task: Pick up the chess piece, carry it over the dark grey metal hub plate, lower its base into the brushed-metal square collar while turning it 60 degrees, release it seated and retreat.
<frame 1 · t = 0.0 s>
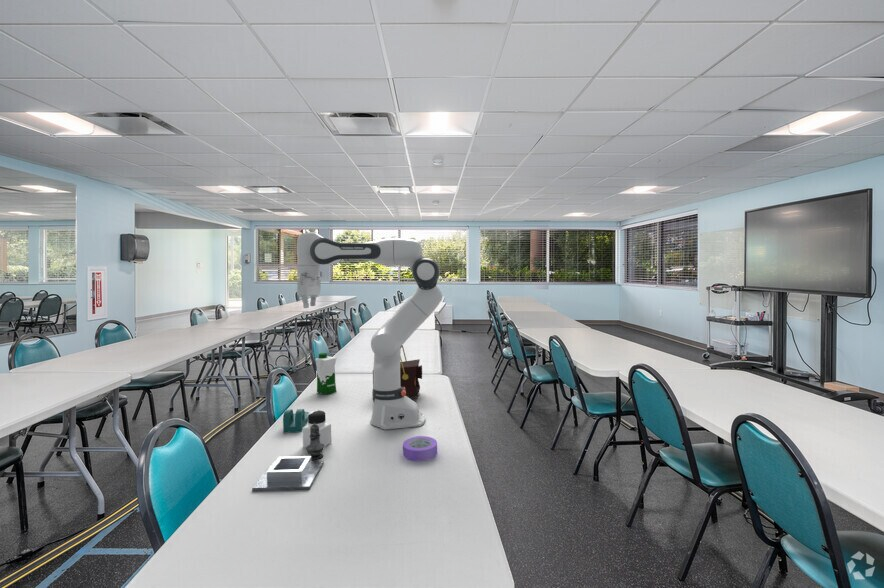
hand: (309, 307, 167), 48 cm above the table, fingers open, 8 cm apart
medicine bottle: (317, 445, 147), on the table
masking tape: (420, 454, 139), on the table
milk carton: (326, 392, 214), on the table
dark brown boxy piece: (398, 397, 204), on the table
bracket: (298, 424, 169), on the table
hub plate: (290, 476, 124), on the table
chess piece: (315, 457, 137), on the table
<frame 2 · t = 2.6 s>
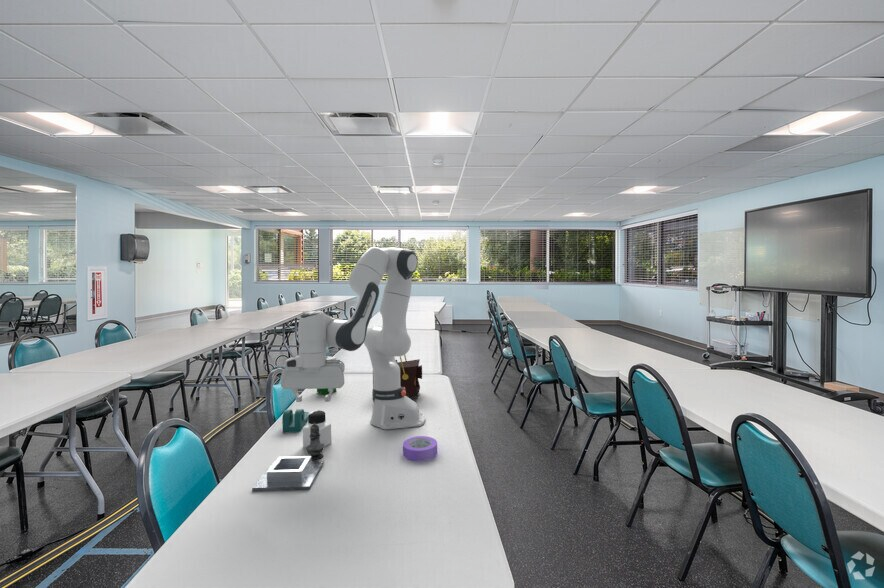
hand: (313, 401, 136), 19 cm above the table, fingers open, 8 cm apart
nothing on the table moved.
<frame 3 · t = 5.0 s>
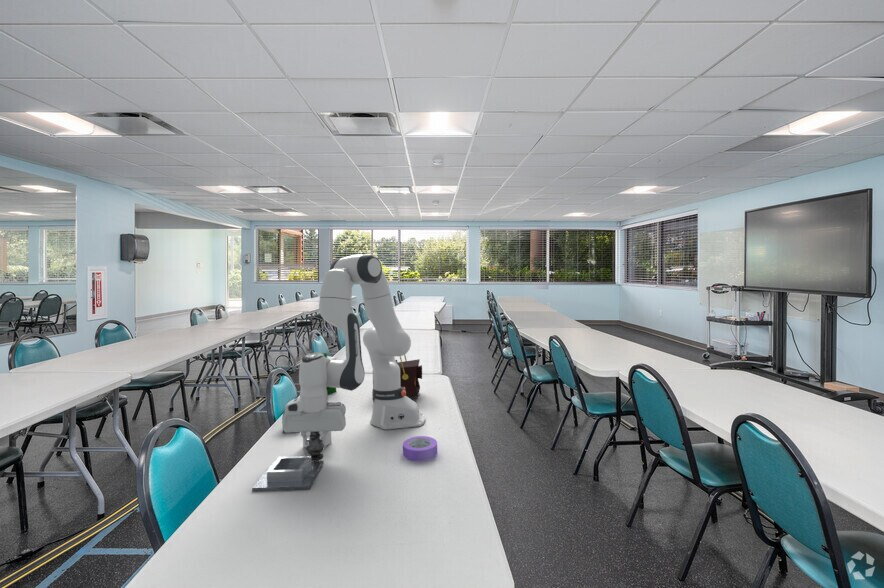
hand: (315, 443, 137), 5 cm above the table, fingers closed on chess piece, 3 cm apart
chess piece: (315, 457, 137), on the table, touching gripper
everything else where it was.
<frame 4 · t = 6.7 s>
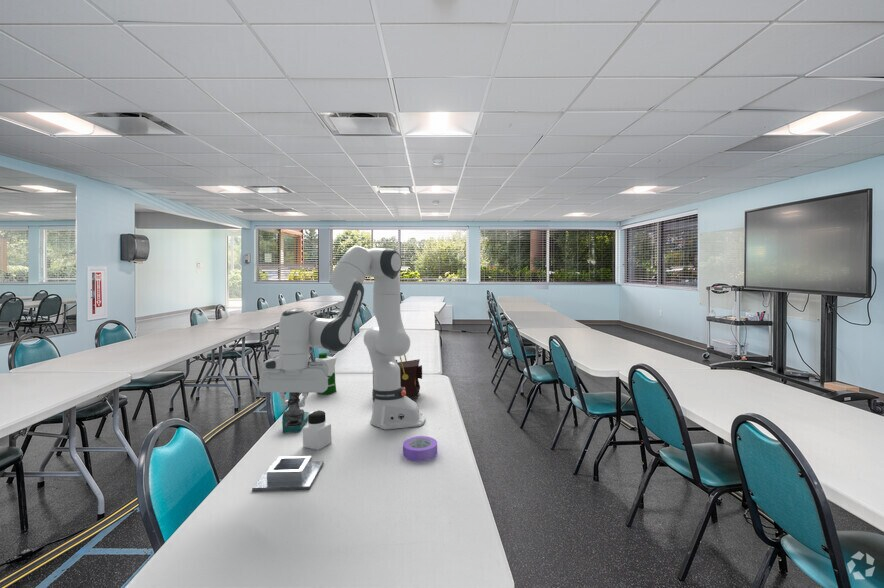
hand: (294, 406, 126), 21 cm above the table, fingers closed on chess piece, 3 cm apart
chess piece: (294, 424, 127), point 15 cm above the table, touching gripper
everything else where it was.
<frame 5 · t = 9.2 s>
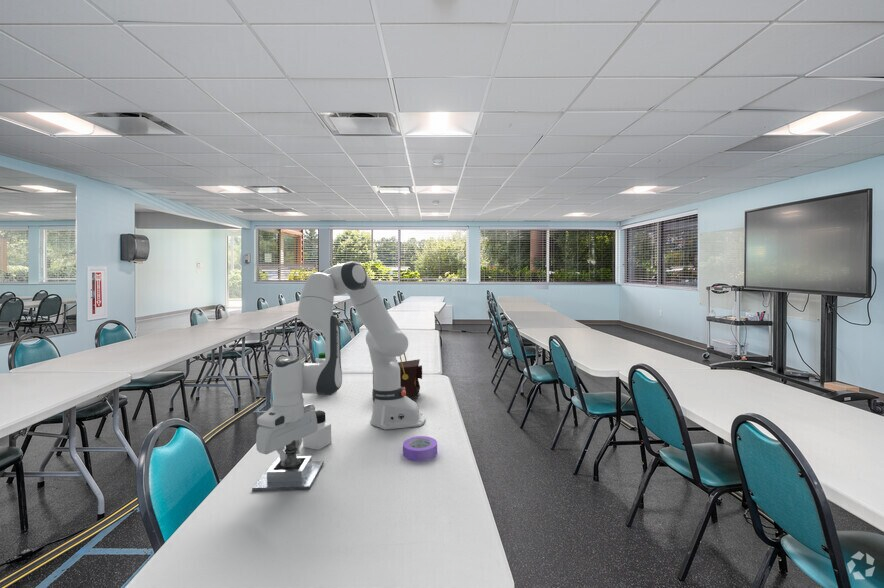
hand: (289, 456, 124), 6 cm above the table, fingers closed on chess piece, 3 cm apart
chess piece: (291, 474, 124), point 1 cm above the table, touching gripper
everything else where it was.
when the fingers open (6 cm above the table, at t = 9.4 s): chess piece stays where it is, resting on hub plate.
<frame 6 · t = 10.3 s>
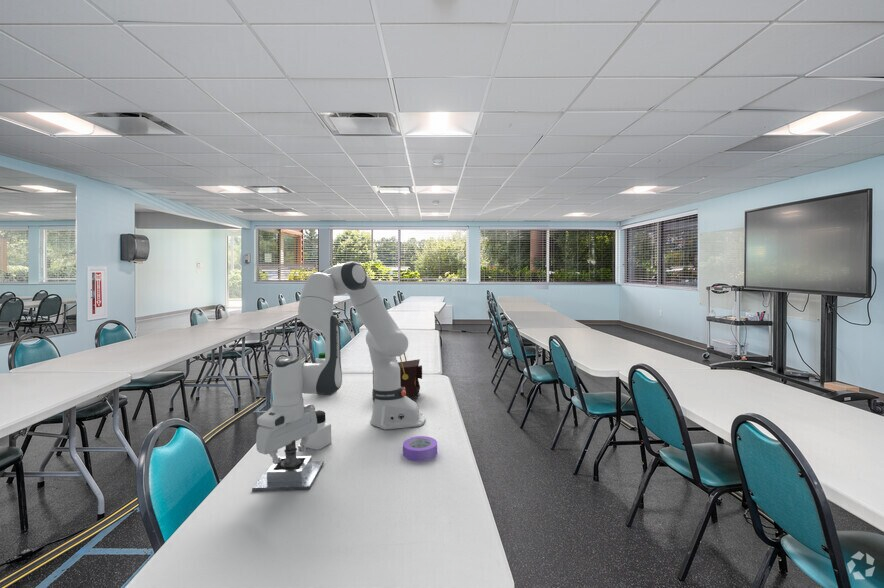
hand: (289, 456, 124), 6 cm above the table, fingers open, 8 cm apart
chess piece: (291, 474, 124), point 1 cm above the table, touching hub plate
everything else where it was.
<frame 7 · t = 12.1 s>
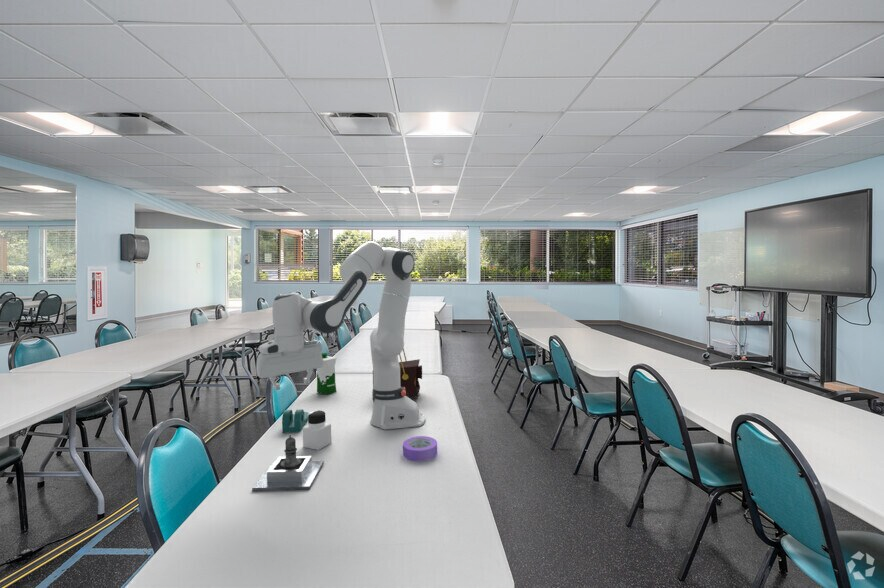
hand: (292, 386, 132), 25 cm above the table, fingers open, 8 cm apart
nothing on the table moved.
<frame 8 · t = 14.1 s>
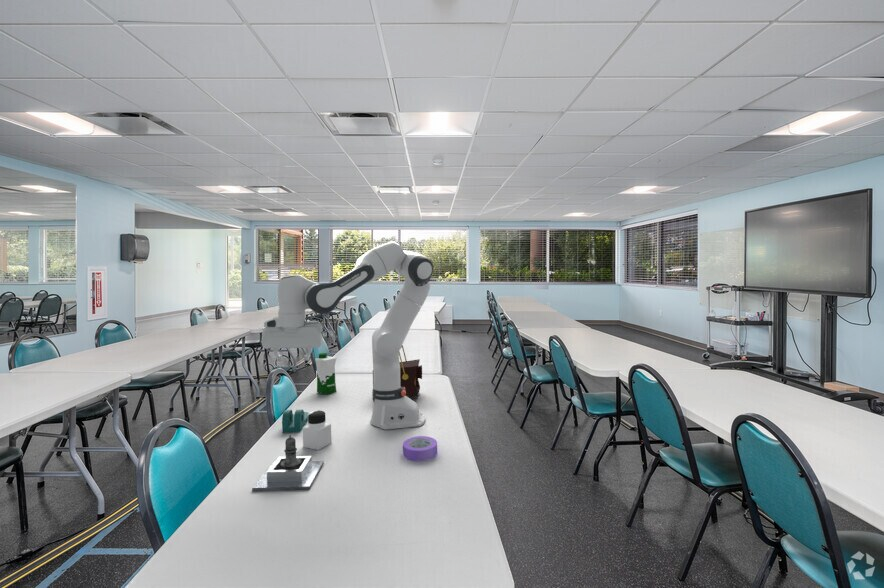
hand: (293, 360, 143), 31 cm above the table, fingers open, 8 cm apart
nothing on the table moved.
at the end: chess piece 0.6 cm off-centre on the hub plate, point 0.8 cm above the hub plate's base; chess piece tilted 0°; the gripper is holding nothing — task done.
